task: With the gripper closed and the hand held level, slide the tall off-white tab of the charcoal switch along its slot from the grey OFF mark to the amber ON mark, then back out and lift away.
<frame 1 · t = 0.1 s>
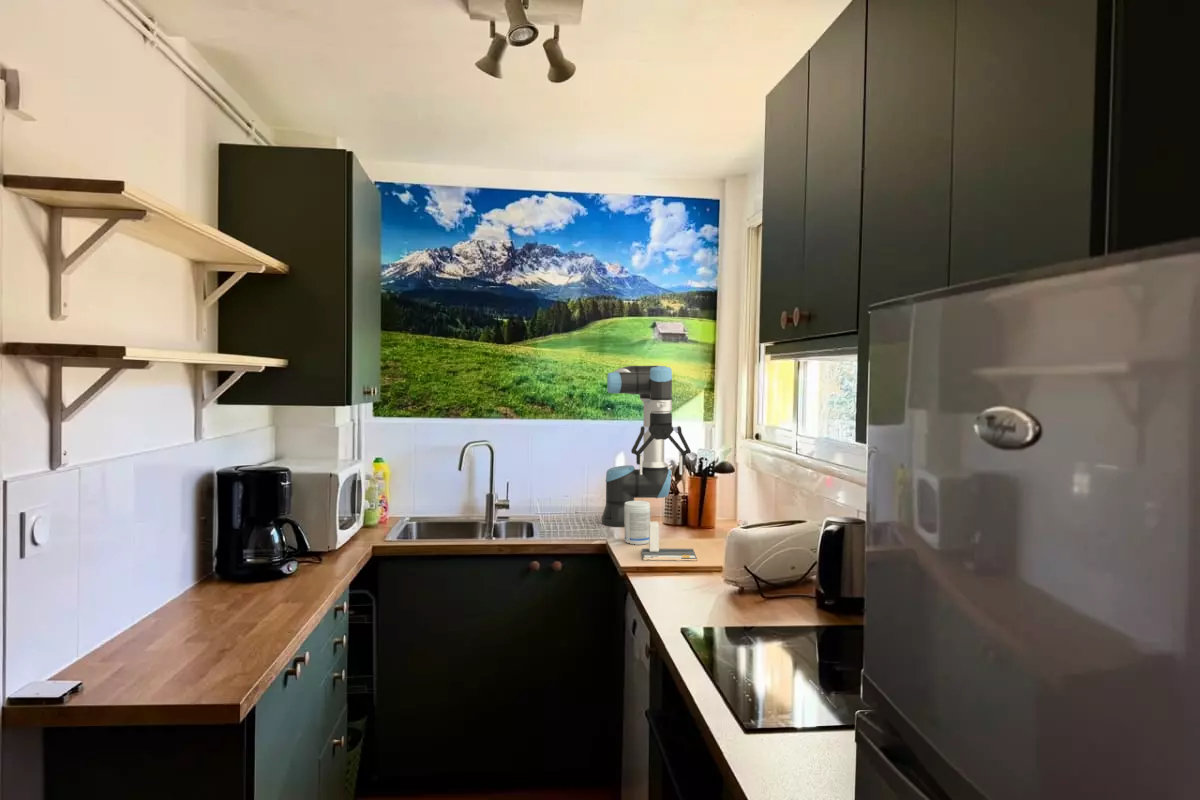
hand: (660, 474, 250), 28 cm above the countertop, tool pointing down, fingers open, 13 cm apart
supplement tub: (637, 542, 268), on the countertop
switch tab: (654, 538, 249), point 6 cm above the countertop, slide at -5.0 cm
switch housing: (668, 556, 249), on the countertop
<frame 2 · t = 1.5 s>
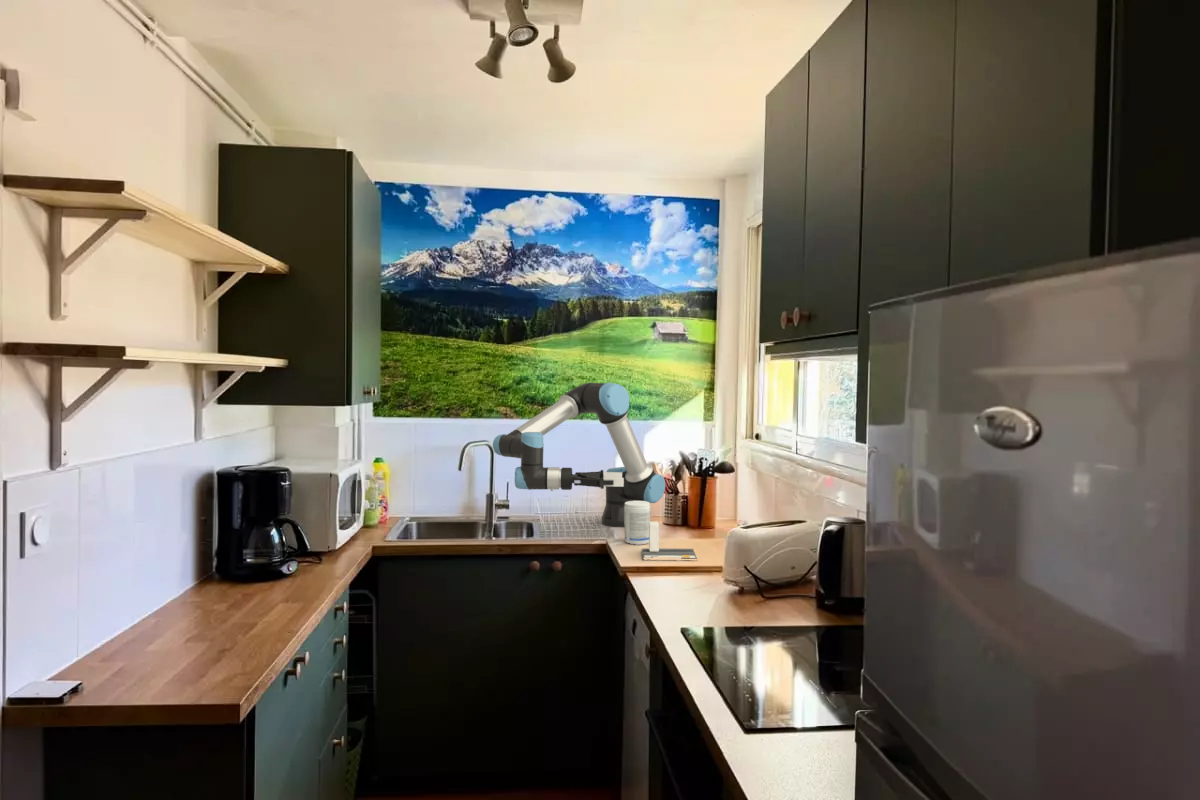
hand: (623, 479, 248), 26 cm above the countertop, tool horizontal, fingers open, 13 cm apart
nothing on the countertop moved.
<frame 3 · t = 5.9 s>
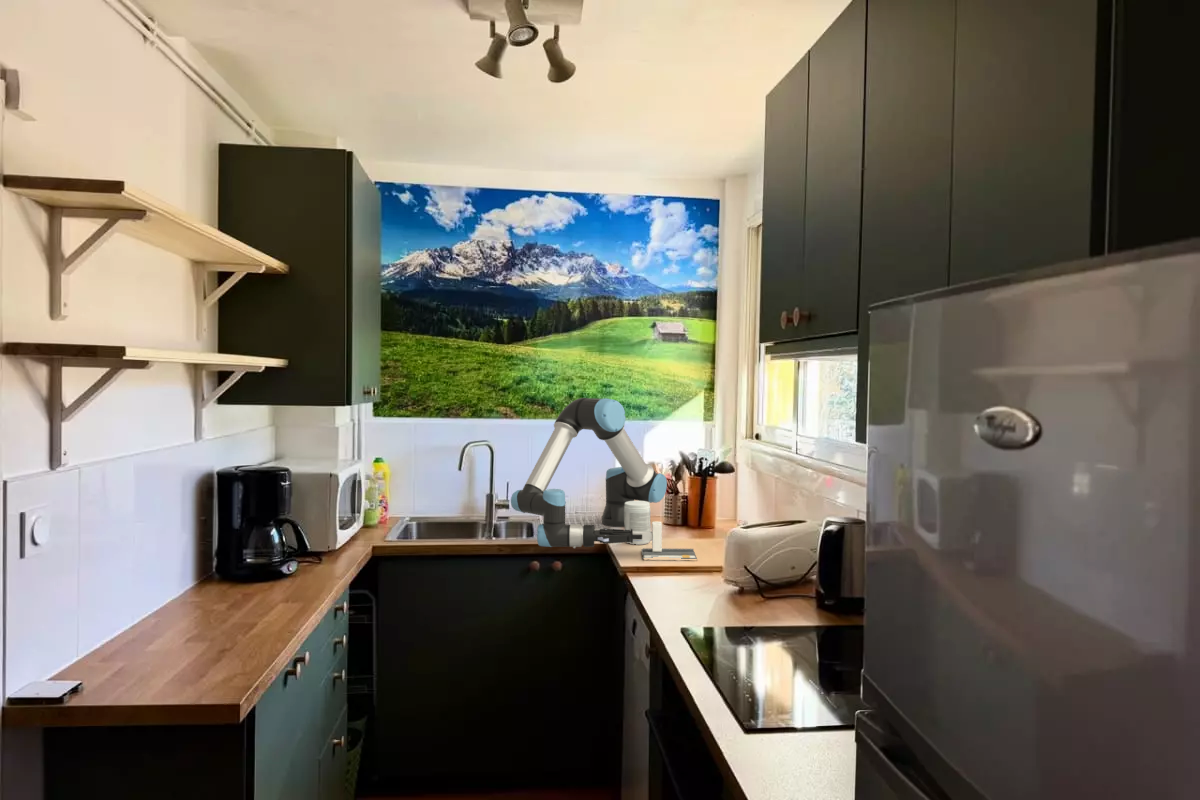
hand: (651, 536, 249), 7 cm above the countertop, tool horizontal, fingers closed
switch tab: (656, 538, 249), point 6 cm above the countertop, slide at -4.0 cm, touching gripper
everything else where it was.
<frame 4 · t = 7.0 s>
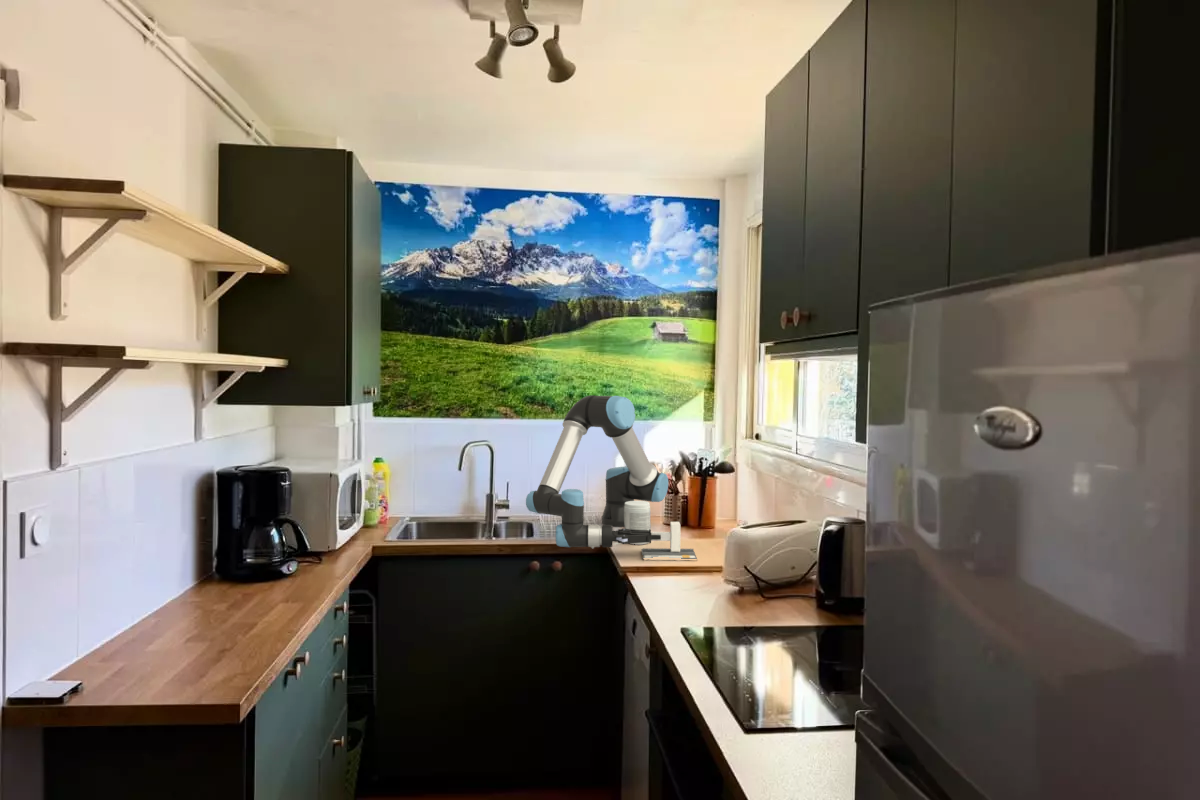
hand: (670, 536, 248), 7 cm above the countertop, tool horizontal, fingers closed
switch tab: (675, 538, 249), point 6 cm above the countertop, slide at 2.3 cm, touching gripper
everything else where it was.
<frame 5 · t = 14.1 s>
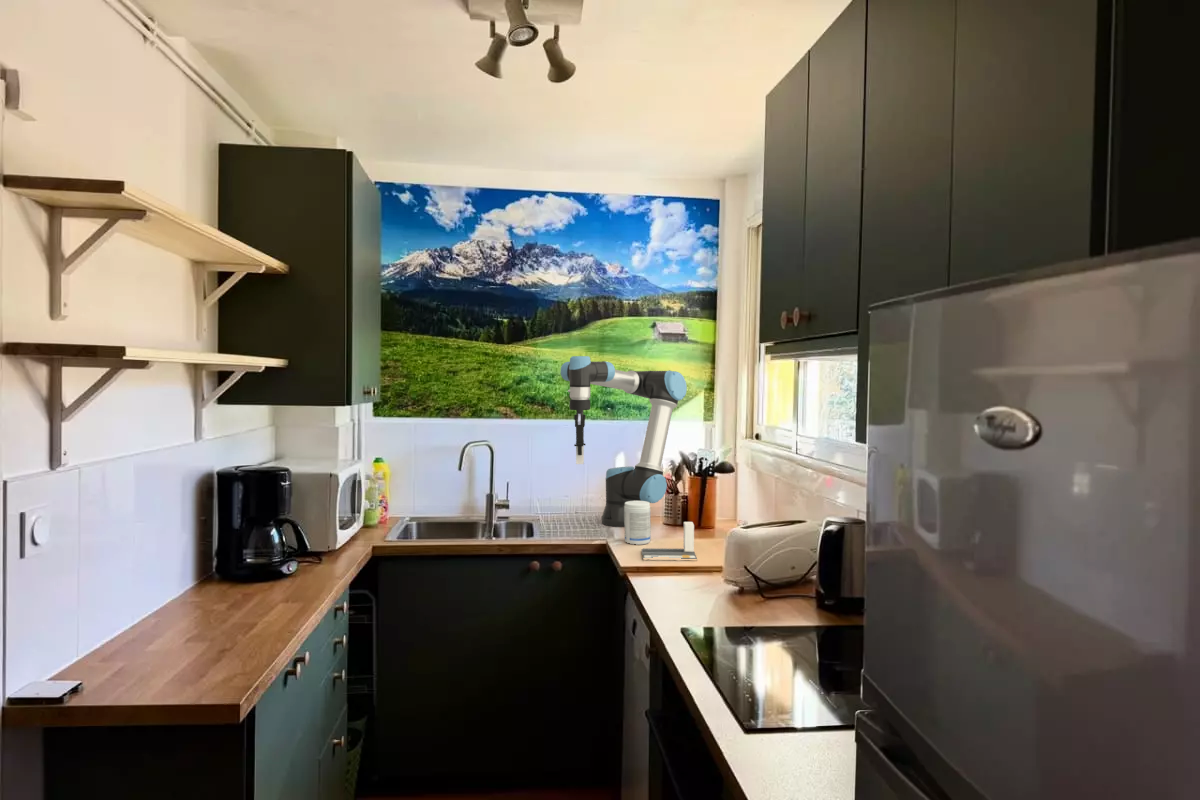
hand: (579, 463, 264), 29 cm above the countertop, tool pointing down, fingers closed
switch tab: (688, 538, 249), point 6 cm above the countertop, slide at 6.8 cm
everything else where it was.
at the end: switch tab slide at 6.8 cm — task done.
